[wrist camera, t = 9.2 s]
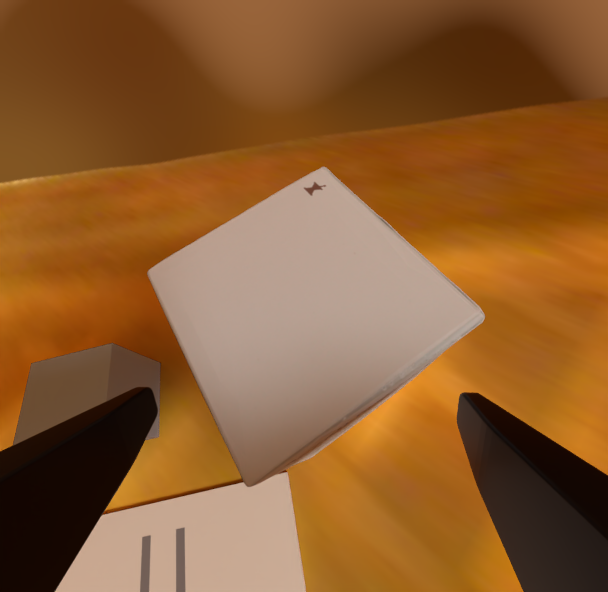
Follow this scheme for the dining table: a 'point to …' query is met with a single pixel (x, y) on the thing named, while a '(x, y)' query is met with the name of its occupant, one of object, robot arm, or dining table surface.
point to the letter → (196, 544)
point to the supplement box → (305, 320)
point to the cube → (83, 386)
